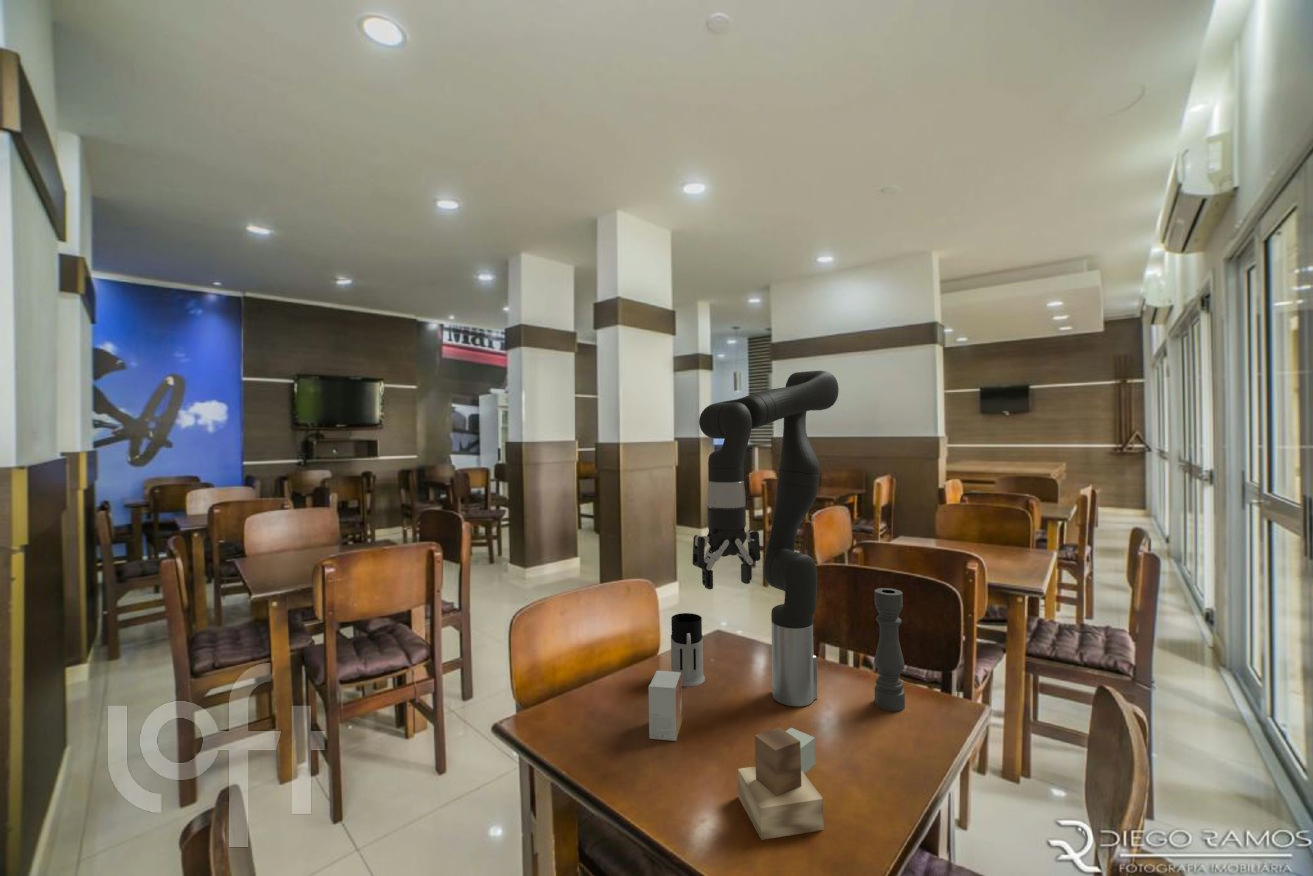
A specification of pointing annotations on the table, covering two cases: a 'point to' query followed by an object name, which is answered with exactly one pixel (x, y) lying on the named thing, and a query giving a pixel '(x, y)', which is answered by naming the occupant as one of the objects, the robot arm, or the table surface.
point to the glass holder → (687, 648)
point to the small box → (665, 705)
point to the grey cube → (805, 749)
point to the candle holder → (889, 651)
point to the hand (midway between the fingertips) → (727, 585)
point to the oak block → (780, 807)
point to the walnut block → (778, 761)
